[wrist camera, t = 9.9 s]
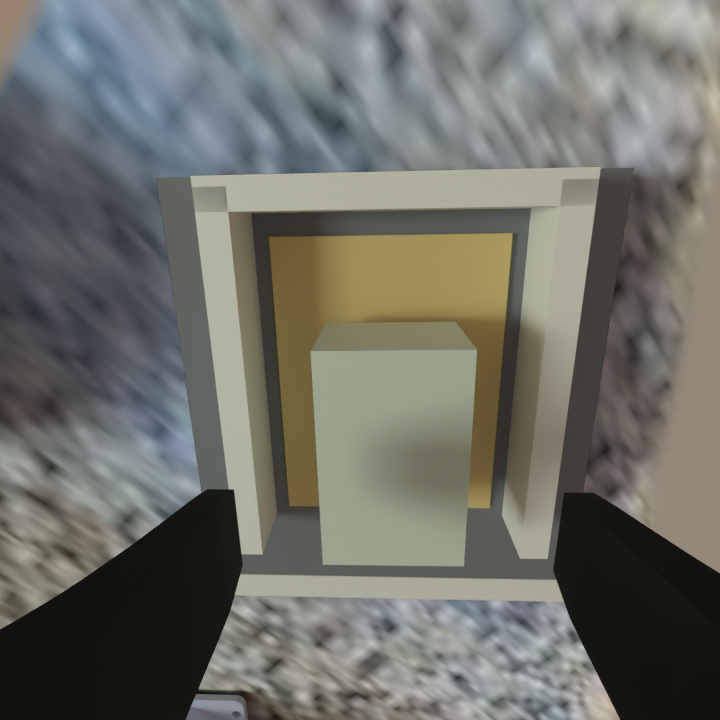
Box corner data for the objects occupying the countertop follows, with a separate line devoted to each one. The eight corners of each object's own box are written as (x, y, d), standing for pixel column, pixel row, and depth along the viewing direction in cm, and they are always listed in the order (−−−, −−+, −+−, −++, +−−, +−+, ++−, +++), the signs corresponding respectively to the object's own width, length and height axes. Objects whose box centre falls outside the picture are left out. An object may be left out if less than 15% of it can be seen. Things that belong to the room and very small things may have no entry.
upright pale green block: (443, 482, 18) (464, 566, 14) (336, 482, 18) (322, 564, 14) (449, 314, 16) (476, 349, 12) (328, 316, 16) (310, 351, 12)
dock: (549, 567, 22) (591, 652, 17) (229, 562, 22) (194, 643, 18) (603, 174, 16) (683, 157, 12) (181, 183, 17) (114, 170, 13)
